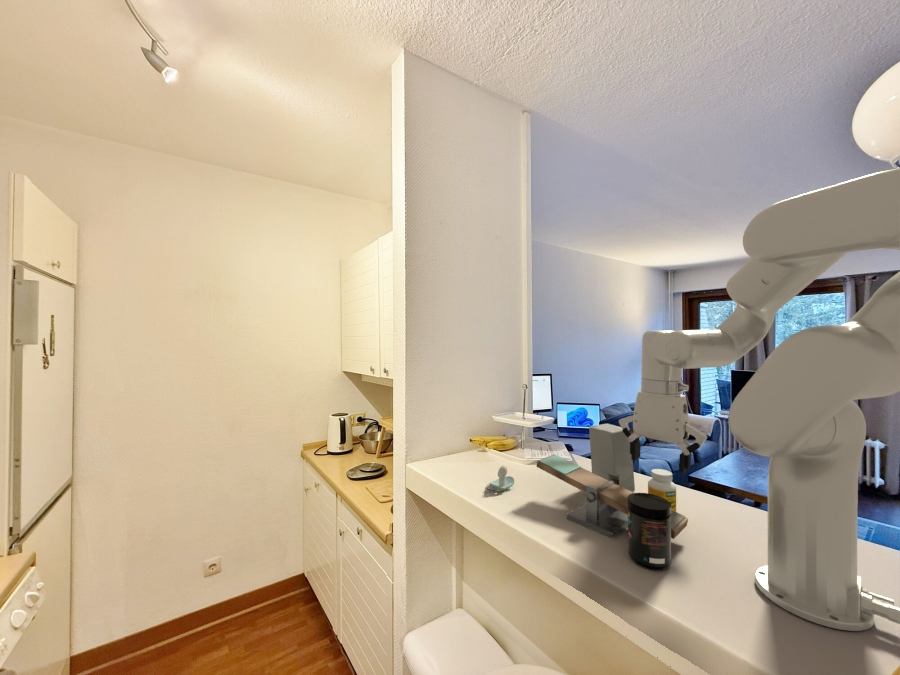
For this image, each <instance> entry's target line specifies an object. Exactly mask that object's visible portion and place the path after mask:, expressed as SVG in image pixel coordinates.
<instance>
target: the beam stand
mask: <svg viewBox="0 0 900 675" xmlns="http://www.w3.org/2000/svg"><path fill="white" fill-rule="evenodd" d="M610 480H615V481H616V482H617V485H619V486H621V476H620V475H617V474H613V473H609V481H610ZM566 520H569V521H571V522H573V523H575V524H578V525H581V526H582V527H585V528H588V529H590V530H593V531H595V532H597V533H600V534H602V535H605V536H607V537H609V538H612V539H613V538H615V537H616V536H618V535H619V534H620V533H621V532H623V531H624V530H625V529H626V528H628V515H627V514H625V513H623V512H621V511H619V510H618V509H616V508H614V507H612V506H610V505H608V504H606V503H604V502H602V501H600V500H599V488H597V487H594V486H591V485H586V493H585V503H583V504H581V505H580V506H578V507H577V508H575V509H573V510H572V511H570V512H569V513H566Z"/></svg>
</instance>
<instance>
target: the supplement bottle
mask: <svg viewBox="0 0 900 675" xmlns="http://www.w3.org/2000/svg"><path fill="white" fill-rule="evenodd" d="M650 477H651V478H650V479H649V480H648V481H647V493H648V494H653V495H657V496H660V497H662V498H664V499H666V500H668V501H669V502H670V503H671V510H673V511H675V512H677V486H676V484H675V483H674V482H673V473H672V472H671V471H670V470H667V469H662V468H653V469H651V471H650Z"/></svg>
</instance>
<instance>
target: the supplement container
mask: <svg viewBox="0 0 900 675" xmlns="http://www.w3.org/2000/svg"><path fill="white" fill-rule="evenodd" d="M627 507H628V527H627V553H628V556H629V558H630V560H632V562H634V563H635V564H636V565H638V566H640V567H641V568H644V569H647V570H651V571H664V570H666V569H669V568H670V566H671V565H672V538H671V503H670V502H669V501H668V500H666V499H664V498H662V497H660V496H657V495H653V494H648V492H634V493H632V494H630V495H628V505H627Z"/></svg>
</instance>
